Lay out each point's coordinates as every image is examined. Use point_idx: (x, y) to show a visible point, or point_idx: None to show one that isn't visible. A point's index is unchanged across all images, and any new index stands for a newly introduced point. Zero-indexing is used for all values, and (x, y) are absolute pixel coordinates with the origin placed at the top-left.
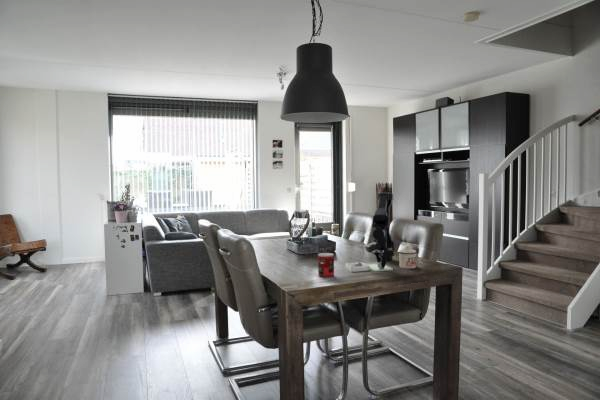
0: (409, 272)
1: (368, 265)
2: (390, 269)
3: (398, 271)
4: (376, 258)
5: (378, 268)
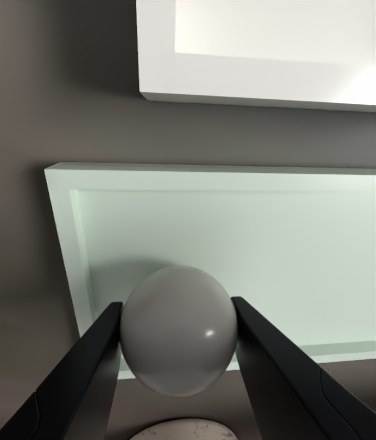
0: None
1: (194, 86)
2: None
3: None
4: (334, 392)
5: (218, 269)
